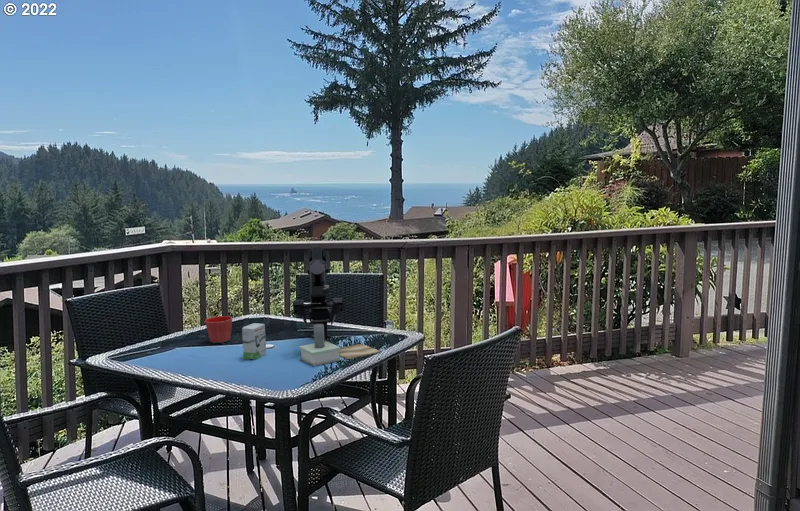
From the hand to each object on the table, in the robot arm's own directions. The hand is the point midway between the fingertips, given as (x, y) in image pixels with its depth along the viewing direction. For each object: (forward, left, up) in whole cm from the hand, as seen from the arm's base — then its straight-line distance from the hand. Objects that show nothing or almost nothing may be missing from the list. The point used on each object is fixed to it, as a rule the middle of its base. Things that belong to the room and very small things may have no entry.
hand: (318, 324), depth 215 cm
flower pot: (-46, -23, -12) cm, 53 cm away
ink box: (-16, -19, -12) cm, 28 cm away
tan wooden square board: (+3, +13, -12) cm, 18 cm away
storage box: (+4, -2, -12) cm, 13 cm away
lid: (+4, -2, -8) cm, 9 cm away
